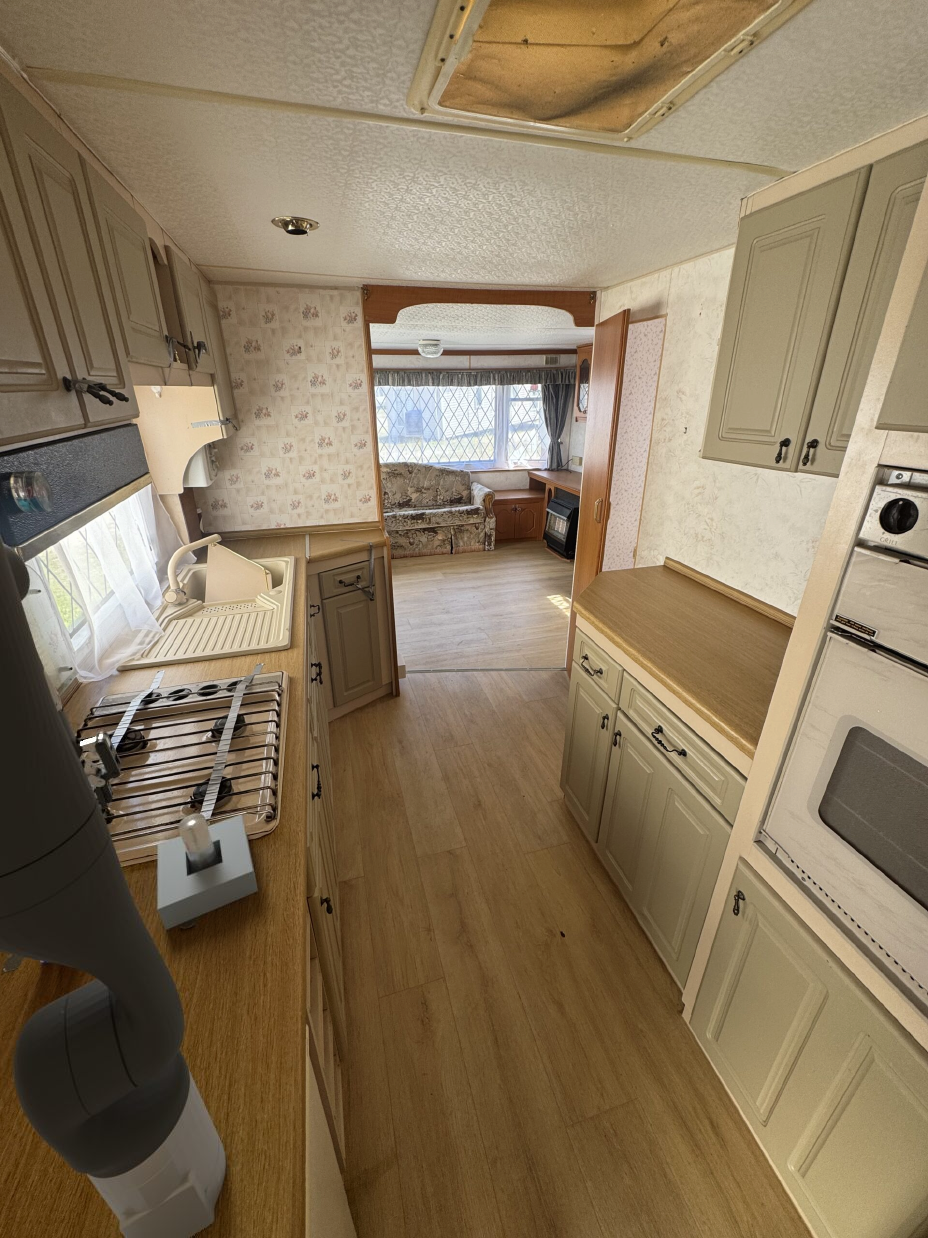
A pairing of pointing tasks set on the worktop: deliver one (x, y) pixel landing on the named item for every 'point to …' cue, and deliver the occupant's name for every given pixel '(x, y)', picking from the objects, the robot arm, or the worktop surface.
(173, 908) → the bore block
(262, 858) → the worktop surface
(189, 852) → the pin
